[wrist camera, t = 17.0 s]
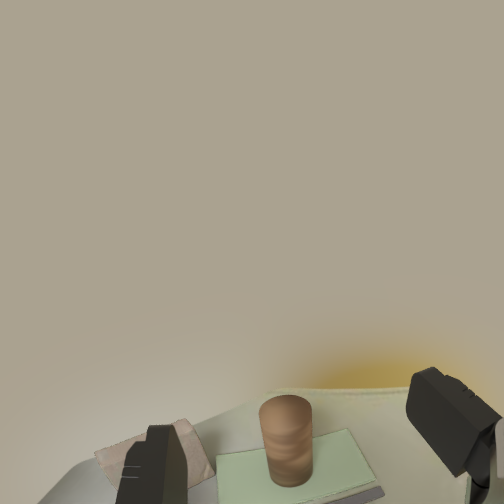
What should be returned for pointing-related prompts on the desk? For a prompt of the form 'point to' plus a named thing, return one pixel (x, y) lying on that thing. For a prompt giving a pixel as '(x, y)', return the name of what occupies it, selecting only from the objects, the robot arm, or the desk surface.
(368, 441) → the desk surface
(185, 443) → the fossil
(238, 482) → the mat
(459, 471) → the robot arm
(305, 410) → the spiral cardboard tube
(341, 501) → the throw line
